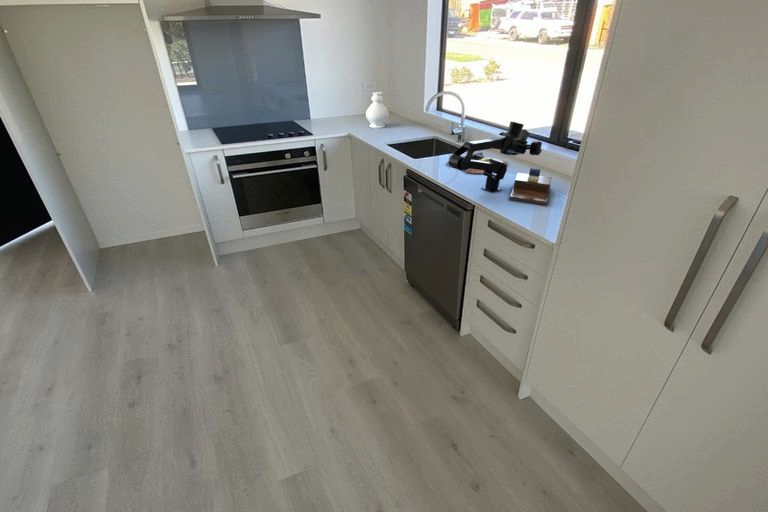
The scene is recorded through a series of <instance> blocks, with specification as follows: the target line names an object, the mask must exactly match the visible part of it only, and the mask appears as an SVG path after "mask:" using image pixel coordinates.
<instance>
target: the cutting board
mask: <svg viewBox="0 0 768 512" xmlns="http://www.w3.org/2000/svg"><path fill="white" fill-rule="evenodd" d="M484 158H485V159H481V160H477V161H484V162H489V161H490V158H491V159H497V160H499V161H502V162H505V163H504V164H506V165H507V166H508V162H506V161H504V160H501V159H498V158H496V157H495V158H494V157H492V156H491V157H489V156H488V157H487V156H486V157H485V156H484ZM448 162H449V161H447V162H446V164H447V165H449V163H448ZM463 172H465V173H469V174H484V170H476V169H467V170H463Z"/></svg>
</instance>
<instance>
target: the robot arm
mask: <svg viewBox="0 0 768 512" xmlns="http://www.w3.org/2000/svg"><path fill="white" fill-rule="evenodd" d="M523 127H524V124H523V123H519V122H515V121H510V122H509V125H508V129H507V131H506V132H504V131H501V132H499V133H498V134H495V135H492V136H490V137H489V138H486V139H479V140H473V141H465V142H464V143H463V144H462V145H461V146H460V147H459V148H457V149H455V151H454V152H453V153H452V154H451V155H450V157H449V158H448V161H447V162H448V163H449V164H448V166H449V167H452V168H453V169H455V170H458V171H464V170H467V169H476V170H484V173H483V177H486V180H485V186H483V187H482V190H484V191H487V192H490V193H495V192H498V191H501V190H502V188H501V187H500V181H501V180H504V178H505V175H506V173H507V170H508V164H507V165H506V164H504V163H505V162H506V161H504V162H502V161H503V160H501V161H499V160H500V159H499V160H497V159H498V158H495V159H491V158H490V161H489V162H484V161H477V160H471V159H472V155H473V154H474V153H476V152H481V151H487V150H492V149H493V150H499V153H500V154H502V155H505V156H506V155H507V156H518V155H525V154H526V152H527V150H528V151H529V155H530V156H540V155H541V153H542V152H543V149H542V145H543V143H542V141H539V140H538V141H536V140H535V141H531V143H530V144H528V142H529V141H528V138H529V136H530V132H529V131H528V129H526V128H524V129H523ZM465 153H466V155H465V156H466V157H465V158H464V157H463V156H462V155H464V154H465Z"/></svg>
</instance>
